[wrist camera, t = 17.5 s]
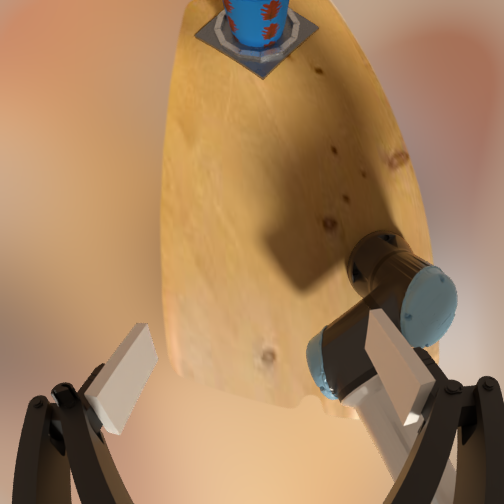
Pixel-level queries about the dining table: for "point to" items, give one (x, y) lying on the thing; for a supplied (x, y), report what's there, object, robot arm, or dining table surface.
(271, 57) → the collar dock
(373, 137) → the dining table surface
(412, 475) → the robot arm
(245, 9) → the thermos
